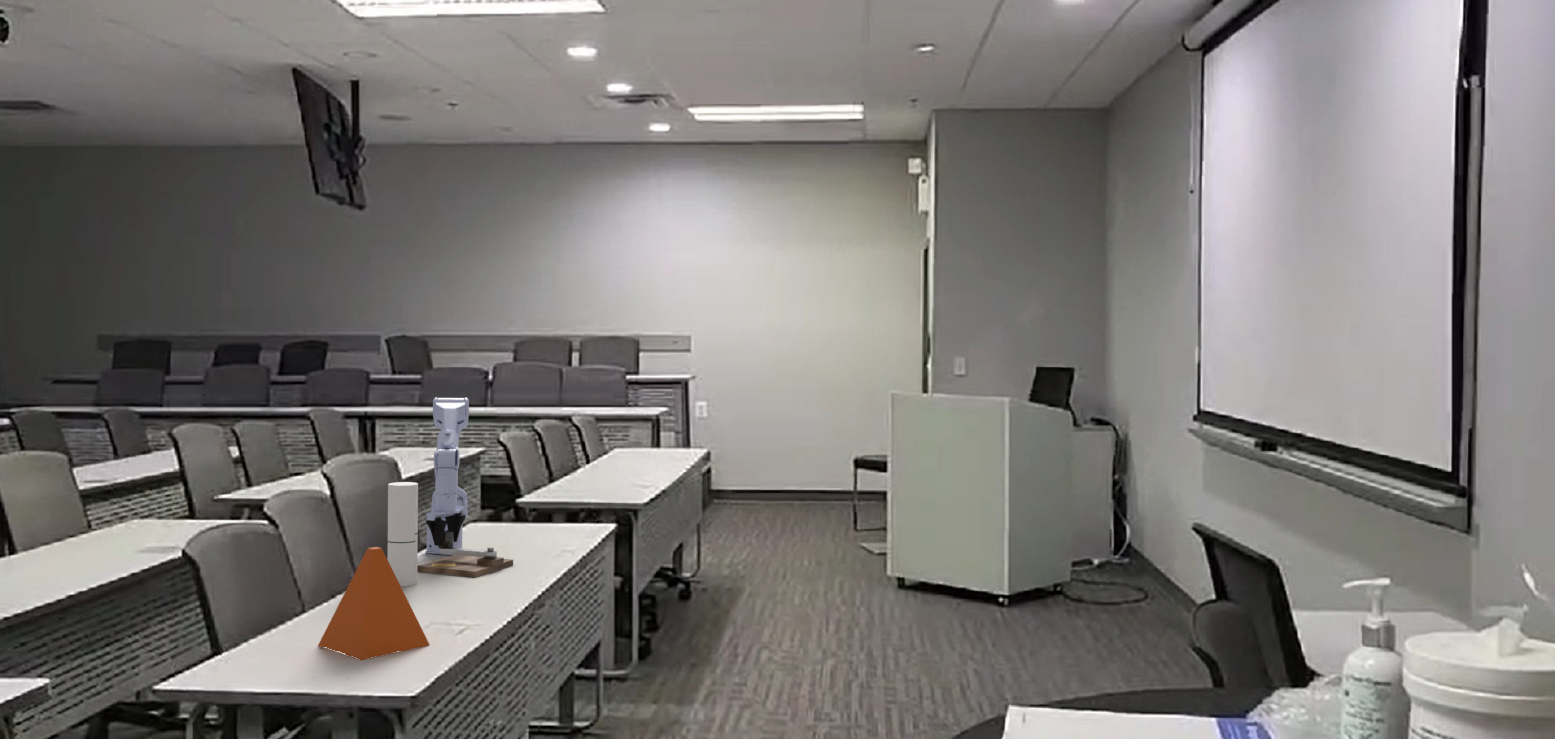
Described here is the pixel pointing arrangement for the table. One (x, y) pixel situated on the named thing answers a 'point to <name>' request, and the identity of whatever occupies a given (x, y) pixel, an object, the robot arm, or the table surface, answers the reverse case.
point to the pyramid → (373, 613)
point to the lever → (449, 549)
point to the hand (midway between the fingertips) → (445, 543)
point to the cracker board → (465, 565)
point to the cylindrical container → (403, 531)
